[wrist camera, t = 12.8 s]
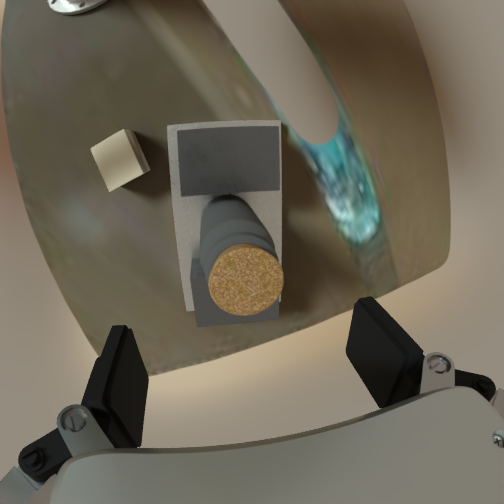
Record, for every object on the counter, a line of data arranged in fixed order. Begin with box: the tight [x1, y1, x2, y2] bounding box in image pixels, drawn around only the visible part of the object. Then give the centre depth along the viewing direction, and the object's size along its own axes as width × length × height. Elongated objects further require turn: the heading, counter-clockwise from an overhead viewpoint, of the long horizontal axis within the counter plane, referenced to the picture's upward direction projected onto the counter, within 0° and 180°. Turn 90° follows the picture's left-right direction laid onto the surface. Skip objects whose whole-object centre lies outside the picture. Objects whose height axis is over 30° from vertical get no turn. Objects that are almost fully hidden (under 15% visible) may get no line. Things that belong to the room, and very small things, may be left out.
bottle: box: [200, 195, 284, 316], centre depth 24 cm, size 6×6×15 cm
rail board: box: [167, 120, 282, 327], centre depth 29 cm, size 22×12×6 cm, turn 2°
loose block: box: [91, 129, 150, 192], centre depth 26 cm, size 5×4×4 cm
